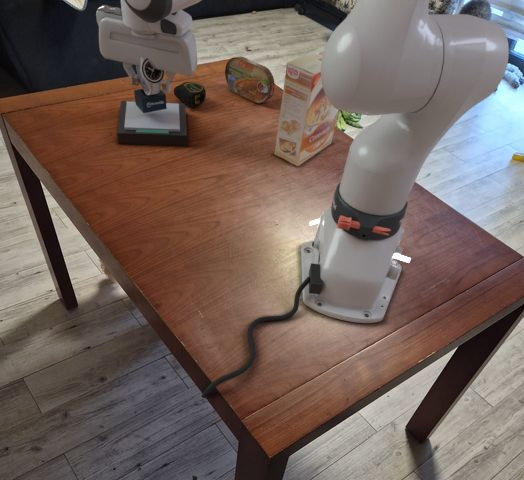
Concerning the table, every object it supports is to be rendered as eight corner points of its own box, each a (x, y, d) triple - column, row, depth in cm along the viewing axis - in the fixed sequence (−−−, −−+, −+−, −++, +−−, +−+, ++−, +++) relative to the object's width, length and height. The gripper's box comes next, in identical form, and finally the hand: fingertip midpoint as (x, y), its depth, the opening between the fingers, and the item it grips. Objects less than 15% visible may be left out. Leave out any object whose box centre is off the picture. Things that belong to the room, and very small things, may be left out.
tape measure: (173, 99, 118) (172, 83, 116) (195, 93, 122) (195, 78, 119) (188, 111, 116) (188, 95, 113) (210, 105, 119) (211, 89, 116)
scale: (187, 145, 106) (186, 132, 103) (118, 143, 103) (116, 130, 101) (185, 113, 115) (185, 100, 112) (122, 110, 112) (120, 97, 110)
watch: (147, 117, 102) (141, 62, 94) (132, 100, 106) (125, 46, 98) (170, 112, 105) (167, 58, 96) (155, 96, 108) (150, 43, 100)
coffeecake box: (298, 167, 105) (314, 74, 90) (272, 154, 107) (284, 61, 92) (332, 143, 113) (353, 54, 98) (308, 132, 115) (325, 43, 100)
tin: (223, 87, 126) (224, 52, 119) (231, 84, 127) (233, 49, 121) (266, 109, 121) (270, 73, 114) (274, 105, 122) (278, 70, 116)
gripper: (87, 8, 90) (99, 84, 101) (189, 28, 89) (190, 103, 100) (101, -2, 94) (111, 72, 105) (199, 18, 93) (199, 91, 104)
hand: (151, 87), depth 102 cm, fingers closed on watch, 6 cm apart
